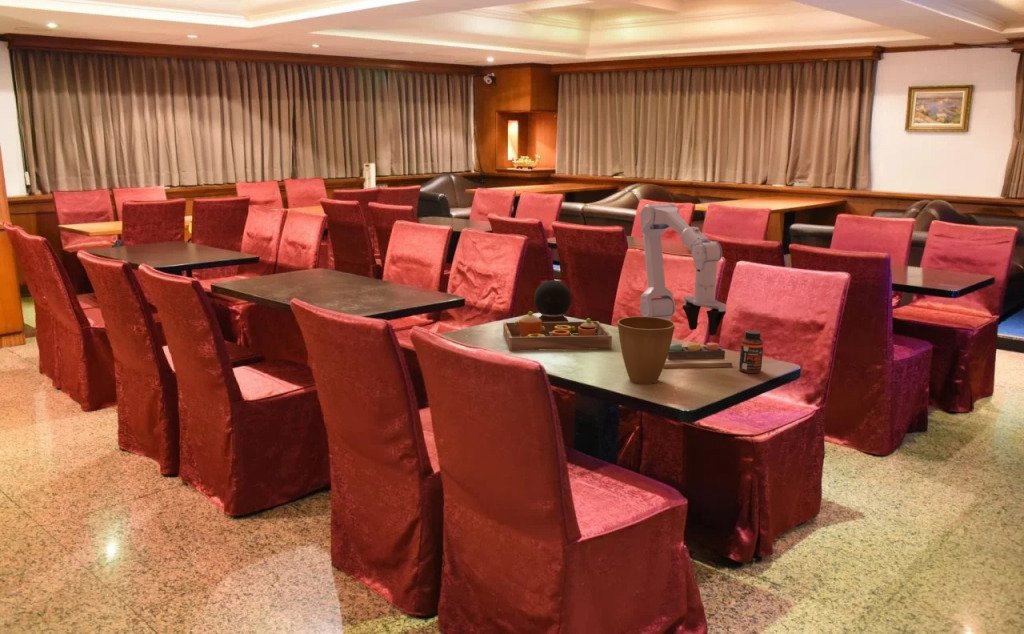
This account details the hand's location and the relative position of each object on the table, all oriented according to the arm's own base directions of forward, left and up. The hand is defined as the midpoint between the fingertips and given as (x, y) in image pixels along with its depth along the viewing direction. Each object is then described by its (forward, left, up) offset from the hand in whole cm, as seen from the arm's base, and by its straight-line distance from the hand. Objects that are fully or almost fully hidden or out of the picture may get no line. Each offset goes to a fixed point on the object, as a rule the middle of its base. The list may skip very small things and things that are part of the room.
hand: (702, 332), depth 239 cm
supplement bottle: (+8, +12, -10) cm, 17 cm away
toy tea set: (-32, -37, -10) cm, 50 cm away
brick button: (-4, +4, -7) cm, 9 cm away
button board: (-4, -2, -10) cm, 11 cm away
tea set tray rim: (-31, -37, -10) cm, 50 cm away
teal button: (-4, -7, -7) cm, 10 cm away
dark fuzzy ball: (-59, -34, -10) cm, 69 cm away
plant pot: (+15, -20, -10) cm, 27 cm away
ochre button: (-4, -1, -7) cm, 8 cm away
